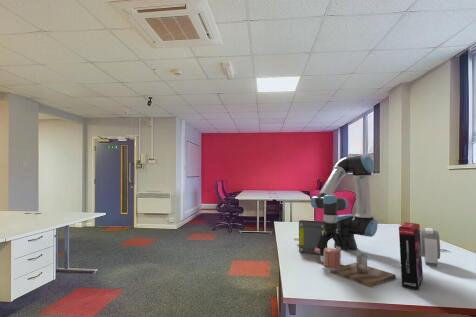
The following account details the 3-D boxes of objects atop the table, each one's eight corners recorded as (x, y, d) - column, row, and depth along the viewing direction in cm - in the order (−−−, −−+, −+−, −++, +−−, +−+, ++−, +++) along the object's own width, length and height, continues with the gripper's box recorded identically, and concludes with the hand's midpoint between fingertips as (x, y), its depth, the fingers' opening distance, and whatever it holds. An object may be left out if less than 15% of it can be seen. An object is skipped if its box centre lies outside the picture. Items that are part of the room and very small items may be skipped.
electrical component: (298, 252, 176) (298, 221, 177) (300, 248, 185) (300, 219, 187) (326, 255, 169) (325, 223, 171) (327, 251, 178) (327, 221, 180)
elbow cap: (343, 265, 150) (343, 250, 151) (332, 268, 145) (332, 253, 146) (321, 258, 163) (321, 245, 164) (310, 260, 158) (310, 247, 159)
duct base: (330, 272, 139) (329, 253, 140) (355, 265, 151) (355, 248, 152) (370, 287, 121) (369, 265, 121) (395, 277, 133) (395, 258, 133)
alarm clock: (441, 269, 146) (439, 231, 147) (422, 266, 150) (421, 229, 152) (437, 260, 161) (436, 226, 162) (420, 258, 165) (419, 225, 167)
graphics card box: (418, 291, 117) (416, 228, 119) (400, 287, 121) (398, 226, 123) (423, 280, 130) (420, 223, 132) (406, 276, 134) (404, 221, 136)
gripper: (321, 224, 144) (321, 265, 142) (349, 221, 157) (350, 258, 156) (310, 222, 150) (310, 261, 148) (338, 219, 163) (339, 254, 162)
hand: (330, 259), depth 152 cm, fingers open, 13 cm apart
